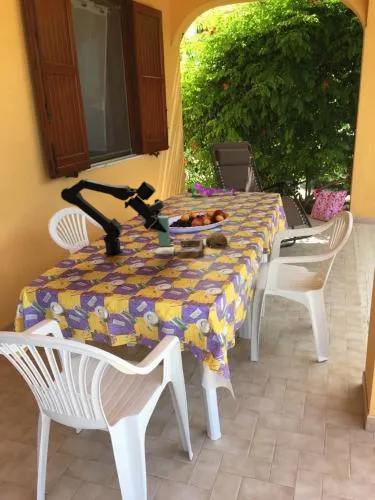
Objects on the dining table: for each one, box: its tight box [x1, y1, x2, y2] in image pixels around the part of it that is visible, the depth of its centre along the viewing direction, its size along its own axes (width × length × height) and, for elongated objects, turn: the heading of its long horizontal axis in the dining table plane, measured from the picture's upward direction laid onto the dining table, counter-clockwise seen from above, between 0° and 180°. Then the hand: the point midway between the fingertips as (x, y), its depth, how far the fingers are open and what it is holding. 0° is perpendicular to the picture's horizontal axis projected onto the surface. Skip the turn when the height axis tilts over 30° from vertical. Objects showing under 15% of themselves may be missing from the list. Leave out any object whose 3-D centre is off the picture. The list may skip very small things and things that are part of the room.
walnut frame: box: [176, 239, 204, 258], centre depth 198 cm, size 11×17×2 cm, turn 176°
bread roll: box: [205, 231, 228, 248], centre depth 205 cm, size 10×10×8 cm
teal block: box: [157, 215, 171, 247], centre depth 197 cm, size 4×4×13 cm
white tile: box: [155, 246, 176, 255], centre depth 200 cm, size 8×8×1 cm
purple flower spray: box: [186, 182, 236, 198], centre depth 317 cm, size 12×16×35 cm
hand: (166, 230), depth 196 cm, fingers closed on teal block, 4 cm apart
